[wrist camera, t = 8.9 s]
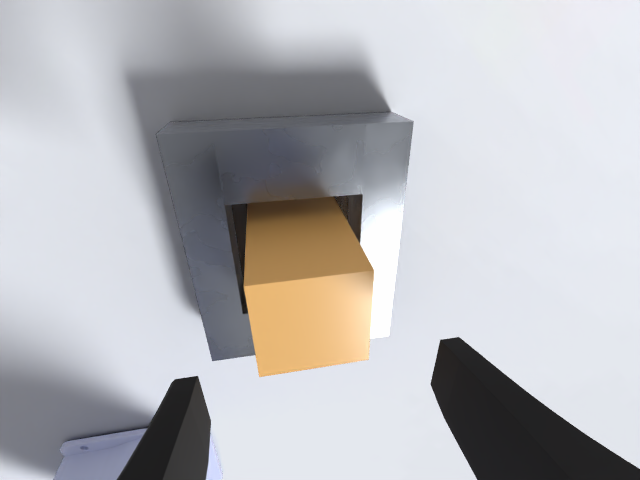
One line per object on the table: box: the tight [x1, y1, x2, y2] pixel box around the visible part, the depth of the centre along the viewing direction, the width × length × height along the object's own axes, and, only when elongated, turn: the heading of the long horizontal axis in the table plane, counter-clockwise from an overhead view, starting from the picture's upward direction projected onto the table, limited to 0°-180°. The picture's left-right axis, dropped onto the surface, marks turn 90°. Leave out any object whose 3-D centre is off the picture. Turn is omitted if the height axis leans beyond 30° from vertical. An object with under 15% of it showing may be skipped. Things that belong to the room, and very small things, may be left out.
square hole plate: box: [156, 112, 414, 361], centre depth 17 cm, size 10×12×2 cm
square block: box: [244, 196, 375, 377], centre depth 15 cm, size 4×4×7 cm
